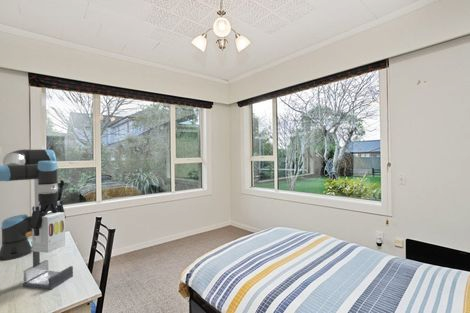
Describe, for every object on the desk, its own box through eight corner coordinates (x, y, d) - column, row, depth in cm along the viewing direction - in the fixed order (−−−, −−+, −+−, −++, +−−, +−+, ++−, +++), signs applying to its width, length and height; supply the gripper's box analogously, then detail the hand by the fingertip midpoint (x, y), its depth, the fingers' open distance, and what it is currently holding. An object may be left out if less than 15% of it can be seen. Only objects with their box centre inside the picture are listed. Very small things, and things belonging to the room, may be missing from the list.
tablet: (52, 246, 160) (52, 243, 160) (29, 251, 152) (29, 248, 152) (48, 238, 175) (48, 236, 174) (27, 242, 166) (27, 240, 166)
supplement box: (47, 253, 110) (46, 217, 110) (31, 251, 112) (30, 216, 112) (66, 245, 120) (65, 212, 119) (50, 243, 122) (50, 211, 121)
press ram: (45, 269, 123) (44, 226, 123) (48, 269, 123) (48, 226, 122) (23, 281, 113) (22, 233, 112) (27, 281, 112) (26, 233, 112)
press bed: (46, 273, 124) (46, 263, 124) (72, 276, 121) (72, 266, 121) (22, 286, 112) (22, 275, 112) (51, 289, 110) (50, 278, 109)
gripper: (31, 197, 104) (32, 247, 104) (73, 189, 126) (74, 230, 126) (17, 196, 105) (18, 246, 106) (61, 188, 127) (62, 230, 128)
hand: (49, 238), depth 116 cm, fingers closed on supplement box, 10 cm apart
